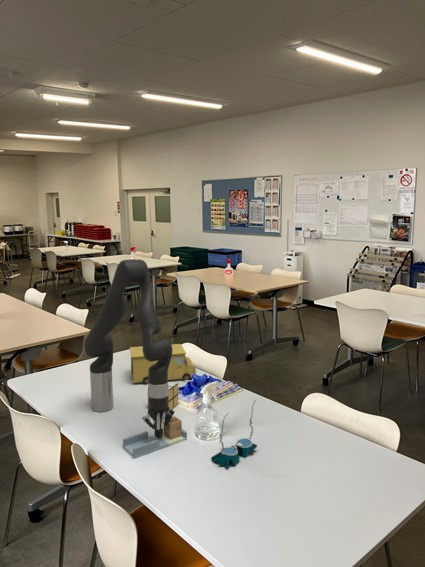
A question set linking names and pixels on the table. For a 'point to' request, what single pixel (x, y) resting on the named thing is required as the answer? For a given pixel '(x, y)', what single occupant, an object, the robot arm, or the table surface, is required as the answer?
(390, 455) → the table surface
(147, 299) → the robot arm
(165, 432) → the block
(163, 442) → the chute
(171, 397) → the puzzle cube
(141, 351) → the toy truck
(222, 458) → the glasses
